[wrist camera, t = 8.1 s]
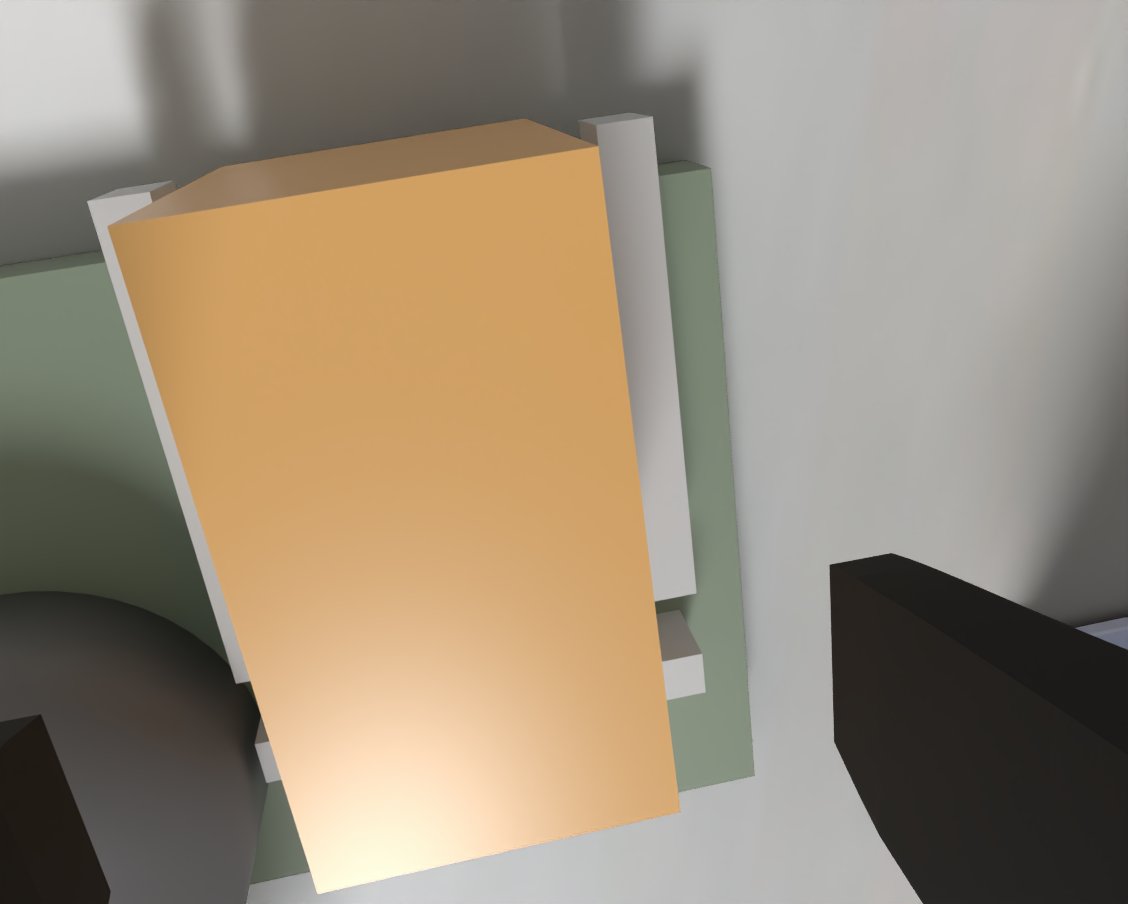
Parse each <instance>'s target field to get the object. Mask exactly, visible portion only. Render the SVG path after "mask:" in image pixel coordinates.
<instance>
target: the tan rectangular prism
mask: <svg viewBox="0 0 1128 904" xmlns="http://www.w3.org/2000/svg"><path fill="white" fill-rule="evenodd" d="M107 228H108V231H109V234H110V237H111V241H112V244H113V247H114V250H115V253H116V256H117V260H118V263H119V266H120V269H121V272H122V275H123V279H124V282H125V285H126V288H127V291H128V294H129V298H130V301H131V304H132V307H133V310H134V314H135V317H136V320H137V323H138V326H139V329H140V333H141V336H142V339H143V342H144V345H145V348H146V352H147V355H148V358H149V361H150V364H151V367H152V371H153V374H154V377H155V380H156V383H157V386H158V390H159V393H160V396H161V399H162V402H163V405H164V409H165V412H166V415H167V418H168V421H169V424H170V428H171V431H172V434H173V437H174V440H175V443H176V447H177V450H178V453H179V456H180V459H181V462H182V466H183V469H184V472H185V475H186V478H187V482H188V485H189V488H190V491H191V494H192V497H193V501H194V504H195V507H196V510H197V513H198V516H199V520H200V523H201V526H202V529H203V532H204V535H205V539H206V542H207V545H208V548H209V551H210V554H211V558H212V561H213V564H214V567H215V570H216V573H217V577H218V580H219V583H220V586H221V589H222V592H223V596H224V599H225V602H226V605H227V608H228V611H229V615H230V618H231V621H232V624H233V627H234V630H235V634H236V637H237V640H238V643H239V646H240V650H241V653H242V656H243V659H244V662H245V665H246V669H247V672H248V675H249V678H250V681H251V684H252V688H253V691H254V694H255V697H256V700H257V703H258V707H259V710H260V713H261V716H262V719H263V722H264V726H265V729H266V732H267V735H268V738H269V741H270V745H271V748H272V751H273V754H274V757H275V760H276V764H277V767H278V770H279V773H280V776H281V779H282V783H283V786H284V789H285V792H286V795H287V798H288V802H289V805H290V808H291V811H292V814H293V818H294V821H295V824H296V827H297V830H298V833H299V837H300V840H301V843H302V846H303V849H304V852H305V856H306V859H307V862H308V865H309V868H310V871H311V875H312V878H313V881H314V884H315V887H316V890H317V894H320V893H325V892H329V891H334V890H338V889H342V888H347V887H351V886H356V885H360V884H365V883H369V882H373V881H378V880H382V879H387V878H391V877H395V876H400V875H404V874H409V873H413V872H418V871H422V870H426V869H431V868H435V867H440V866H444V865H448V864H453V863H457V862H462V861H466V860H471V859H475V858H479V857H484V856H488V855H493V854H497V853H502V852H506V851H510V850H515V849H519V848H524V847H528V846H532V845H537V844H541V843H546V842H550V841H555V840H559V839H563V838H568V837H572V836H577V835H581V834H585V833H590V832H594V831H599V830H603V829H608V828H612V827H616V826H621V825H625V824H630V823H634V822H639V821H643V820H647V819H652V818H656V817H661V816H665V815H669V814H674V813H678V812H680V804H679V796H678V788H677V779H676V771H675V763H674V755H673V747H672V739H671V731H670V723H669V715H668V707H667V698H666V690H665V682H664V674H663V666H662V658H661V650H660V642H659V634H658V625H657V617H656V609H655V601H654V593H653V585H652V577H651V569H650V561H649V552H648V544H647V536H646V528H645V520H644V512H643V504H642V496H641V488H640V479H639V471H638V463H637V455H636V447H635V439H634V431H633V423H632V415H631V406H630V398H629V390H628V382H627V374H626V366H625V358H624V350H623V342H622V333H621V325H620V317H619V309H618V301H617V293H616V285H615V277H614V269H613V260H612V252H611V244H610V236H609V228H608V220H607V212H606V204H605V196H604V187H603V179H602V171H601V163H600V155H599V147H598V146H597V145H594V144H591V143H589V142H586V141H584V140H581V139H578V138H576V137H573V136H570V135H568V134H565V133H562V132H560V131H557V130H555V129H552V128H549V127H547V126H544V125H541V124H539V123H536V122H533V121H531V120H528V119H526V118H523V119H517V120H510V121H504V122H498V123H492V124H485V125H479V126H473V127H467V128H460V129H454V130H448V131H441V132H435V133H429V134H423V135H416V136H410V137H404V138H398V139H391V140H385V141H379V142H373V143H366V144H360V145H354V146H347V147H341V148H335V149H329V150H322V151H316V152H310V153H304V154H297V155H291V156H285V157H279V158H272V159H266V160H260V161H253V162H247V163H241V164H235V165H228V166H222V167H220V168H218V169H216V170H214V171H212V172H210V173H208V174H206V175H204V176H202V177H201V178H199V179H197V180H195V181H193V182H191V183H189V184H187V185H185V186H183V187H181V188H179V189H178V190H176V191H174V192H172V193H170V194H168V195H166V196H164V197H162V198H160V199H158V200H156V201H155V202H153V203H151V204H149V205H147V206H145V207H143V208H141V209H139V210H137V211H135V212H134V213H132V214H130V215H128V216H126V217H124V218H122V219H120V220H118V221H116V222H114V223H112V224H111V225H109V226H107Z"/></svg>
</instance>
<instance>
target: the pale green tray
mask: <svg viewBox="0 0 1128 904" xmlns="http://www.w3.org/2000/svg"><path fill="white" fill-rule="evenodd" d="M578 124H579V132H580V139H581V140H584V141H586V142H589V143H591V144H594V145H597V146H598V147H599V155H600V163H601V171H602V179H603V187H604V196H605V204H606V212H607V220H608V228H609V236H610V244H611V252H612V260H613V269H614V277H615V285H616V293H617V301H618V309H619V317H620V325H621V333H622V342H623V350H624V358H625V366H626V374H627V382H628V390H629V398H630V406H631V415H632V423H633V431H634V439H635V447H636V455H637V463H638V471H639V479H640V488H641V496H642V504H643V512H644V520H645V528H646V536H647V544H648V552H649V561H650V569H651V577H652V585H653V593H654V601H655V609H656V617H657V625H658V634H659V642H660V650H661V658H662V666H663V674H664V682H665V690H666V698H667V707H668V715H669V723H670V731H671V739H672V747H673V755H674V763H675V771H676V779H677V788H678V792H682V791H686V790H691V789H696V788H700V787H705V786H710V785H714V784H719V783H724V782H728V781H733V780H738V779H742V778H747V777H751V776H755V774H754V760H753V746H752V733H751V719H750V705H749V691H748V677H747V663H746V649H745V635H744V621H743V607H742V593H741V579H740V565H739V552H738V538H737V524H736V510H735V496H734V482H733V468H732V454H731V440H730V426H729V412H728V398H727V384H726V371H725V357H724V343H723V329H722V315H721V301H720V287H719V273H718V259H717V245H716V231H715V217H714V203H713V190H712V176H711V168H709V167H705V166H702V165H699V164H696V163H693V162H689V161H686V160H684V161H678V162H671V163H665V164H658V165H657V156H656V145H655V134H654V123H653V117H652V116H647V115H641V114H635V113H623V114H616V115H609V116H603V117H596V118H589V119H583V120H578ZM176 190H177V189H176V186H175V182H174V180H172V181H166V182H159V183H152V184H146V185H139V186H132V187H125V188H119V189H116V190H113V191H111V192H108V193H106V194H103V195H101V196H99V197H96V198H94V199H91V200H89V201H87V203H88V206H89V209H90V213H91V216H92V219H93V222H94V225H95V229H96V232H97V235H98V238H99V242H100V245H101V248H102V250H101V251H94V252H88V253H81V254H75V255H68V256H62V257H55V258H49V259H42V260H36V261H29V262H23V263H16V264H10V265H3V266H0V722H2V721H7V720H12V719H18V718H23V717H28V716H33V715H39V714H41V716H42V718H43V721H44V723H45V726H46V728H47V731H48V733H49V736H50V738H51V741H52V743H53V746H54V748H55V751H56V754H57V756H58V759H59V761H60V764H61V766H62V769H63V771H64V774H65V776H66V779H67V781H68V784H69V786H70V789H71V792H72V794H73V797H74V799H75V802H76V804H77V807H78V809H79V812H80V814H81V817H82V819H83V822H84V824H85V827H86V830H87V832H88V835H89V837H90V840H91V842H92V845H93V847H94V850H95V852H96V855H97V857H98V860H99V862H100V865H101V868H102V870H103V873H104V875H105V878H106V880H107V883H108V885H109V888H110V890H111V893H110V899H109V904H246V900H247V895H248V889H249V885H250V884H255V883H259V882H264V881H269V880H273V879H278V878H283V877H287V876H292V875H297V874H301V873H306V872H310V868H309V865H308V862H307V859H306V856H305V852H304V849H303V846H302V843H301V840H300V837H299V833H298V830H297V827H296V824H295V821H294V818H293V814H292V811H291V808H290V805H289V802H288V798H287V795H286V792H285V789H284V786H283V783H282V779H281V776H280V773H279V770H278V767H277V764H276V760H275V757H274V754H273V751H272V748H271V745H270V741H269V738H268V735H267V732H266V729H265V726H264V722H263V719H262V716H261V713H260V710H259V707H258V703H257V700H256V697H255V694H254V691H253V688H252V684H251V681H250V678H249V675H248V672H247V669H246V665H245V662H244V659H243V656H242V653H241V650H240V646H239V643H238V640H237V637H236V634H235V630H234V627H233V624H232V621H231V618H230V615H229V611H228V608H227V605H226V602H225V599H224V596H223V592H222V589H221V586H220V583H219V580H218V577H217V573H216V570H215V567H214V564H213V561H212V558H211V554H210V551H209V548H208V545H207V542H206V539H205V535H204V532H203V529H202V526H201V523H200V520H199V516H198V513H197V510H196V507H195V504H194V501H193V497H192V494H191V491H190V488H189V485H188V482H187V478H186V475H185V472H184V469H183V466H182V462H181V459H180V456H179V453H178V450H177V447H176V443H175V440H174V437H173V434H172V431H171V428H170V424H169V421H168V418H167V415H166V412H165V409H164V405H163V402H162V399H161V396H160V393H159V390H158V386H157V383H156V380H155V377H154V374H153V371H152V367H151V364H150V361H149V358H148V355H147V352H146V348H145V345H144V342H143V339H142V336H141V333H140V329H139V326H138V323H137V320H136V317H135V314H134V310H133V307H132V304H131V301H130V298H129V294H128V291H127V288H126V285H125V282H124V279H123V275H122V272H121V269H120V266H119V263H118V260H117V256H116V253H115V250H114V247H113V244H112V241H111V237H110V234H109V231H108V228H107V226H109V225H111V224H112V223H114V222H116V221H118V220H120V219H122V218H124V217H126V216H128V215H130V214H132V213H134V212H135V211H137V210H139V209H141V208H143V207H145V206H147V205H149V204H151V203H153V202H155V201H156V200H158V199H160V198H162V197H164V196H166V195H168V194H170V193H172V192H174V191H176Z"/></svg>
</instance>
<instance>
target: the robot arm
mask: <svg viewBox="0 0 1128 904" xmlns="http://www.w3.org/2000/svg"><path fill="white" fill-rule="evenodd" d="M830 597H831V636H832V674H833V712H834V742H835V744H836V747H837V749H838V751H839V753H840V755H841V757H842V759H843V761H844V764H845V766H846V768H847V770H848V772H849V774H850V776H851V779H852V781H853V783H854V785H855V787H856V789H857V791H858V794H859V796H860V798H861V800H862V802H863V804H864V806H865V808H866V810H867V812H868V814H869V816H870V818H871V820H872V822H873V823H874V825H875V827H876V829H877V831H878V833H879V835H880V837H881V839H882V840H883V842H884V843H885V845H886V847H887V848H888V850H889V851H890V853H891V855H892V856H893V858H894V859H895V861H896V862H897V864H898V866H899V867H900V869H901V870H902V872H903V873H904V875H905V876H906V878H907V879H908V881H909V883H910V884H911V886H912V887H913V889H914V890H915V892H916V893H917V895H918V897H919V898H920V900H921V901H922V903H923V904H1128V617H1125V618H1120V619H1115V620H1110V621H1105V622H1101V623H1096V624H1091V625H1086V626H1081V627H1077V628H1073V627H1071V626H1069V625H1066V624H1064V623H1061V622H1059V621H1057V620H1054V619H1052V618H1050V617H1047V616H1045V615H1042V614H1040V613H1038V612H1035V611H1033V610H1031V609H1028V608H1026V607H1024V606H1021V605H1019V604H1017V603H1014V602H1012V601H1010V600H1007V599H1005V598H1003V597H1000V596H998V595H996V594H993V593H991V592H989V591H987V590H984V589H982V588H980V587H977V586H975V585H973V584H970V583H968V582H965V581H963V580H961V579H958V578H956V577H954V576H951V575H949V574H946V573H944V572H942V571H939V570H937V569H934V568H932V567H929V566H927V565H924V564H922V563H919V562H916V561H913V560H911V559H908V558H905V557H902V556H899V555H896V554H892V553H890V554H885V555H879V556H874V557H869V558H863V559H858V560H853V561H848V562H842V563H837V564H832V565H830ZM110 893H111V890H110V888H109V885H108V883H107V880H106V878H105V875H104V873H103V870H102V868H101V865H100V862H99V860H98V857H97V855H96V852H95V850H94V847H93V845H92V842H91V840H90V837H89V835H88V832H87V830H86V827H85V824H84V822H83V819H82V817H81V814H80V812H79V809H78V807H77V804H76V802H75V799H74V797H73V794H72V792H71V789H70V786H69V784H68V781H67V779H66V776H65V774H64V771H63V769H62V766H61V764H60V761H59V759H58V756H57V754H56V751H55V748H54V746H53V743H52V741H51V738H50V736H49V733H48V731H47V728H46V726H45V723H44V721H43V718H42V716H41V714H39V715H33V716H28V717H23V718H18V719H12V720H7V721H2V722H0V904H109V899H110Z"/></svg>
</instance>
